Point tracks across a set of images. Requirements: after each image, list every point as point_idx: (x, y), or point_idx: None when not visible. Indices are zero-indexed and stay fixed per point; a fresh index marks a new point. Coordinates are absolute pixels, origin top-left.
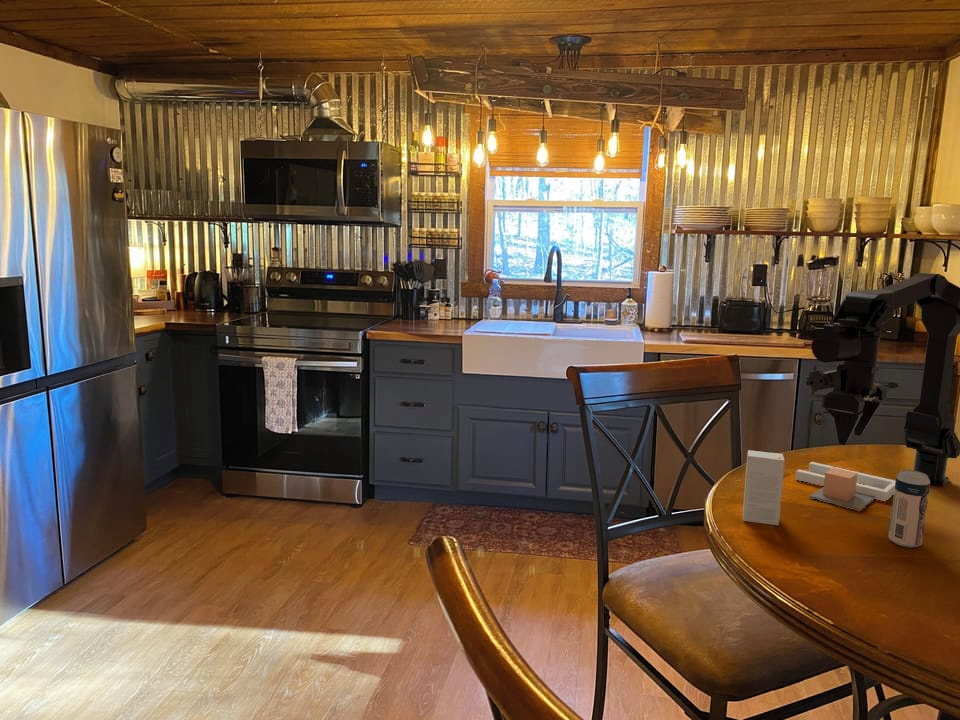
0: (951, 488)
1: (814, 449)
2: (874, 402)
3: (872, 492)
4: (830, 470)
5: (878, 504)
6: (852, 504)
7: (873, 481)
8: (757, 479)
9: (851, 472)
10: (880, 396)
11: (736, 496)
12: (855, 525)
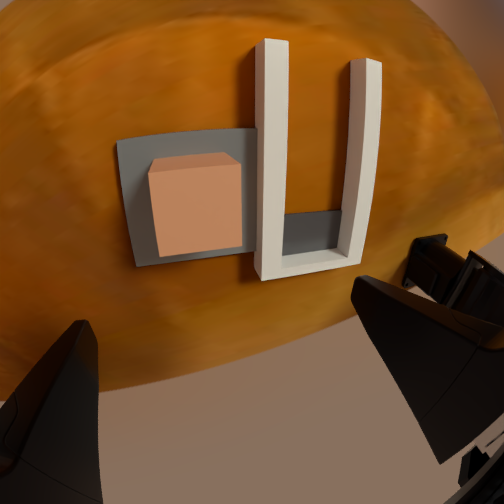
0: None
1: (470, 68)
2: (452, 455)
3: (259, 249)
4: (195, 173)
5: (227, 264)
6: (148, 243)
7: (348, 216)
8: None
9: (234, 230)
10: (462, 481)
11: (4, 39)
12: (58, 288)
